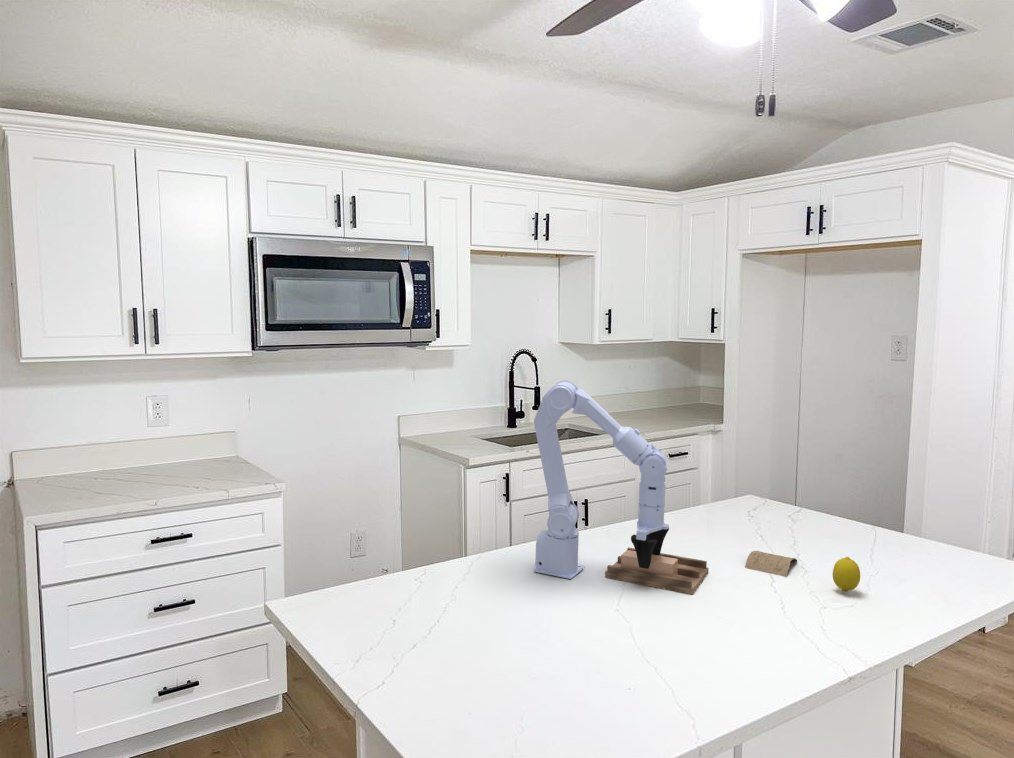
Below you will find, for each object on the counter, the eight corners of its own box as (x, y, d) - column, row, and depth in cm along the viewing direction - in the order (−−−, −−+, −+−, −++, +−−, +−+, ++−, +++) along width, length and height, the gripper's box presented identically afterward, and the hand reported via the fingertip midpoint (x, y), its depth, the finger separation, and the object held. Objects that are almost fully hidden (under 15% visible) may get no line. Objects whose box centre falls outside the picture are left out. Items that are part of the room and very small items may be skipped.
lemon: (830, 594, 163) (832, 558, 163) (832, 585, 168) (834, 551, 167) (858, 599, 161) (860, 563, 160) (859, 590, 166) (862, 555, 165)
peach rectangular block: (620, 571, 171) (621, 554, 171) (626, 566, 175) (626, 549, 174) (672, 581, 165) (673, 564, 165) (677, 576, 169) (678, 559, 169)
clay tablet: (786, 580, 173) (787, 569, 172) (742, 571, 178) (742, 560, 178) (798, 562, 185) (799, 551, 185) (756, 554, 190) (757, 544, 190)
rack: (604, 577, 171) (605, 565, 170) (626, 557, 184) (626, 547, 184) (692, 594, 162) (693, 582, 161) (708, 572, 175) (708, 561, 175)
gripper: (659, 514, 160) (657, 575, 162) (677, 498, 173) (675, 556, 174) (628, 509, 163) (625, 569, 165) (647, 494, 176) (645, 550, 178)
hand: (649, 562), depth 170 cm, fingers open, 7 cm apart
